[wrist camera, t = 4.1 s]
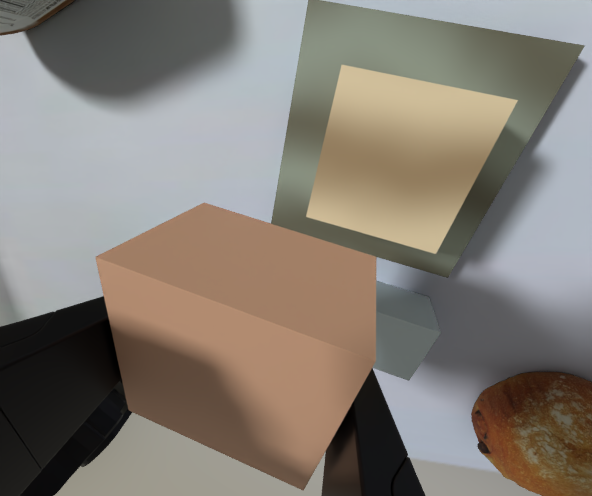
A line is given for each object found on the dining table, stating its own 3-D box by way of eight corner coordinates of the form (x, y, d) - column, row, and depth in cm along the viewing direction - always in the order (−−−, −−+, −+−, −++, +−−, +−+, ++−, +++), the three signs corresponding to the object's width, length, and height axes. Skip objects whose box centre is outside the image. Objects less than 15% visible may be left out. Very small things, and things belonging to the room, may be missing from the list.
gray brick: (402, 340, 22) (408, 380, 19) (346, 321, 23) (342, 356, 20) (428, 296, 20) (440, 332, 17) (365, 276, 21) (364, 307, 17)
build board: (444, 270, 19) (466, 315, 14) (275, 220, 20) (249, 247, 16) (569, 50, 13) (675, 13, 8) (312, 5, 14) (287, -46, 10)
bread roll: (576, 401, 25) (718, 493, 17) (489, 465, 25) (588, 584, 17) (531, 328, 23) (667, 395, 15) (437, 399, 23) (523, 500, 15)
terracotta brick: (326, 373, 11) (303, 490, 8) (200, 325, 12) (128, 410, 8) (376, 256, 8) (375, 360, 5) (203, 202, 9) (95, 257, 5)
